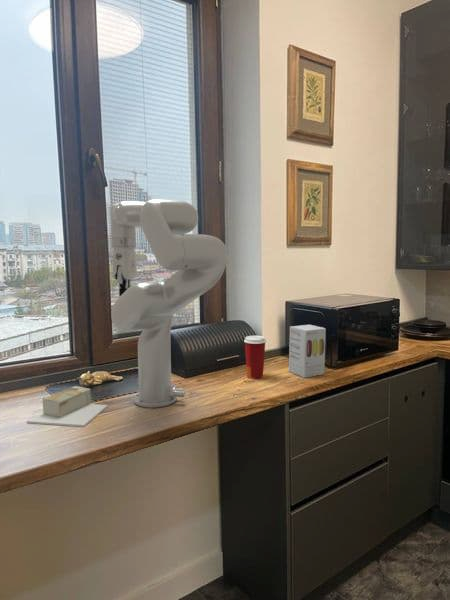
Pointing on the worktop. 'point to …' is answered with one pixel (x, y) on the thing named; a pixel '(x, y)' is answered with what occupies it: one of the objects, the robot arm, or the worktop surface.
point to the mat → (70, 416)
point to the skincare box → (66, 401)
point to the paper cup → (255, 356)
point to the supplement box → (307, 350)
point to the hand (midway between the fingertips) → (125, 300)
